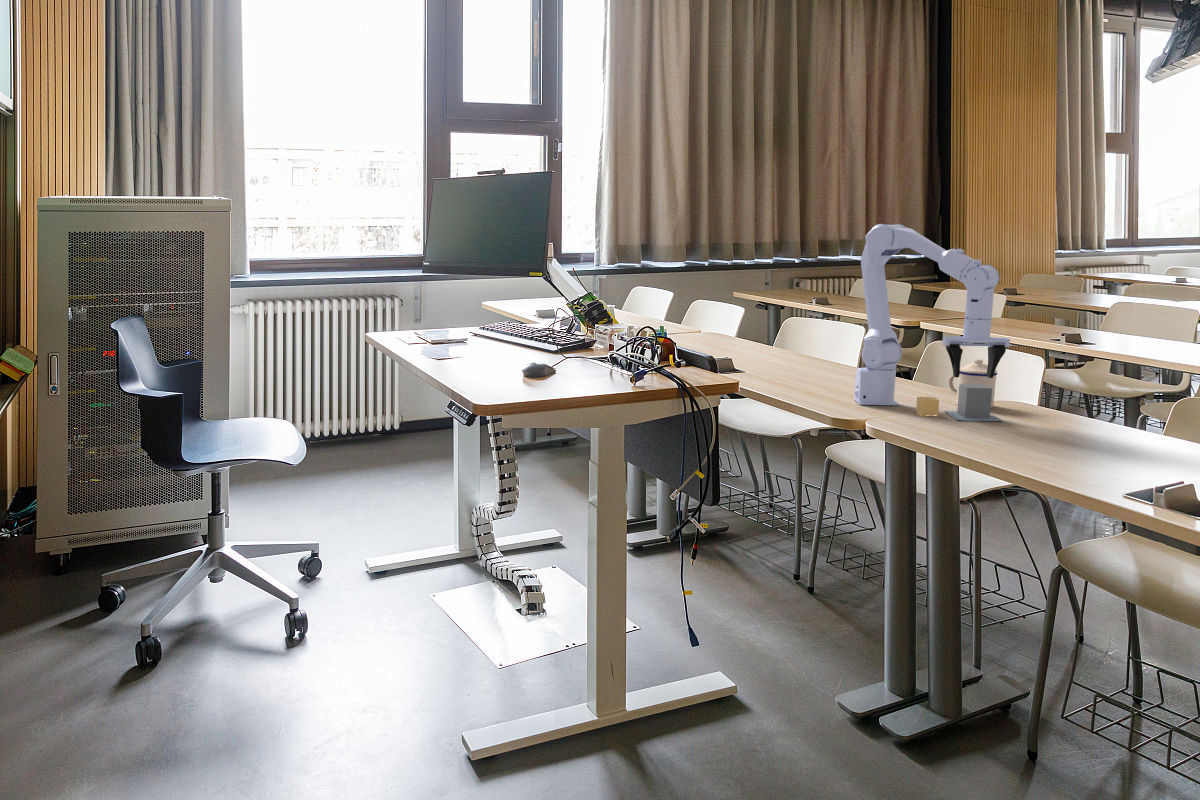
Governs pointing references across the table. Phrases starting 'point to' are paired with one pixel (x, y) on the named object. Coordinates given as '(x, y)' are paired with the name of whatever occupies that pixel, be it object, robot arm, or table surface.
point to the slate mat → (959, 417)
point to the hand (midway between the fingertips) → (972, 377)
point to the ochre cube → (927, 406)
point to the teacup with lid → (974, 377)
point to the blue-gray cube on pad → (974, 400)
